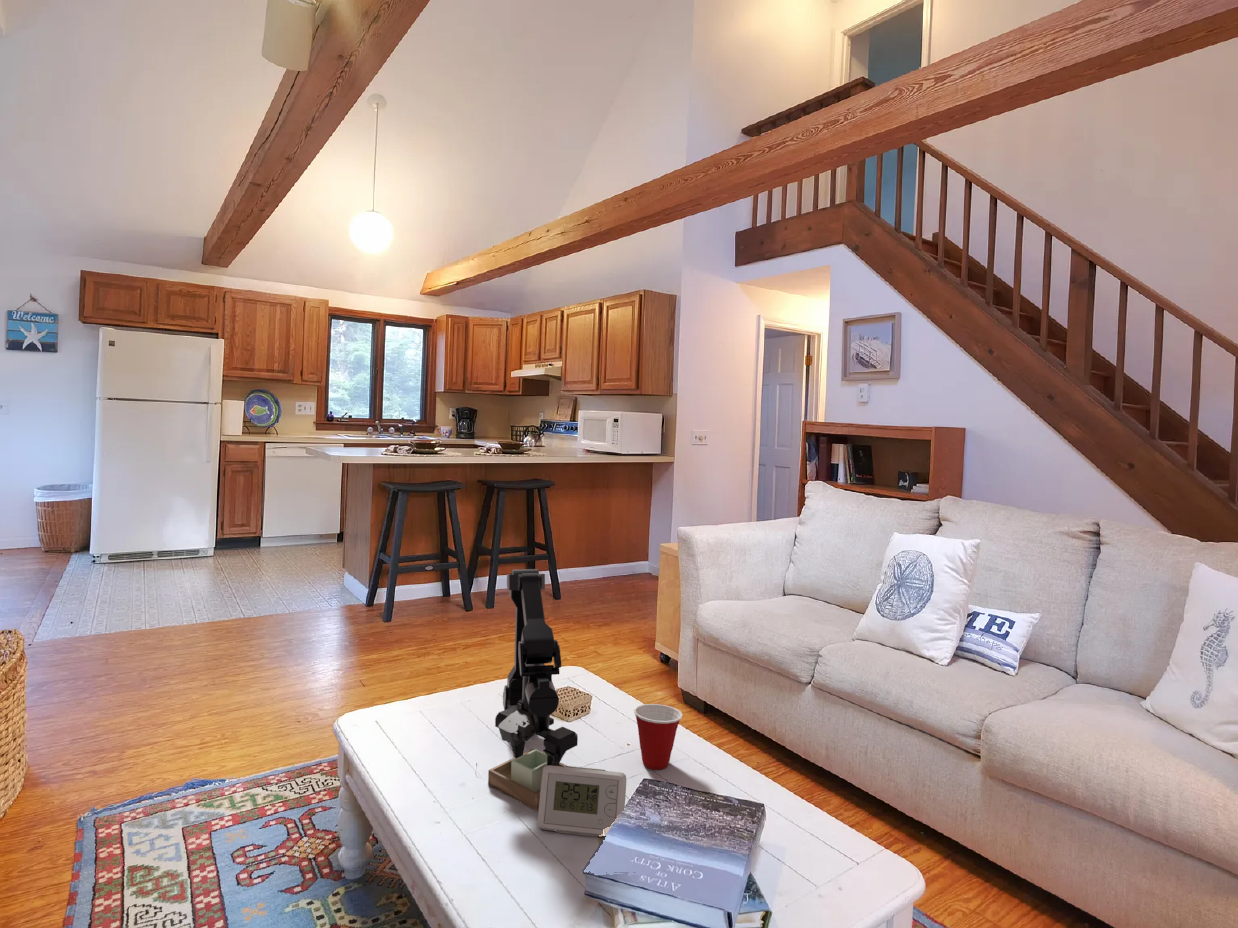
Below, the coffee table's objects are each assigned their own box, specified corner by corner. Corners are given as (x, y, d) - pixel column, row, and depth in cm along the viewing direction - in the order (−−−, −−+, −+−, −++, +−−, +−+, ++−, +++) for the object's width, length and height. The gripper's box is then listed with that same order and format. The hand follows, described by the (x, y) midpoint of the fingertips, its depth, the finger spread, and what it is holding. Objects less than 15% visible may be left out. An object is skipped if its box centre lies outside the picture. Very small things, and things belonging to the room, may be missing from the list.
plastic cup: (687, 759, 157) (690, 707, 156) (668, 780, 148) (671, 725, 147) (644, 746, 162) (646, 696, 161) (623, 766, 153) (625, 713, 152)
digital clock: (532, 830, 128) (533, 774, 128) (552, 805, 137) (553, 752, 136) (615, 850, 123) (617, 792, 123) (630, 823, 132) (633, 768, 131)
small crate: (535, 771, 148) (536, 748, 148) (555, 781, 144) (556, 758, 144) (510, 784, 143) (511, 760, 142) (531, 795, 139) (532, 770, 139)
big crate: (531, 763, 153) (531, 749, 153) (579, 786, 144) (579, 771, 144) (488, 784, 143) (488, 769, 143) (536, 811, 134) (537, 795, 134)
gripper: (475, 694, 142) (473, 768, 143) (540, 722, 130) (538, 802, 131) (516, 679, 150) (514, 749, 152) (580, 704, 139) (578, 779, 140)
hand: (534, 769), depth 143 cm, fingers open, 9 cm apart
